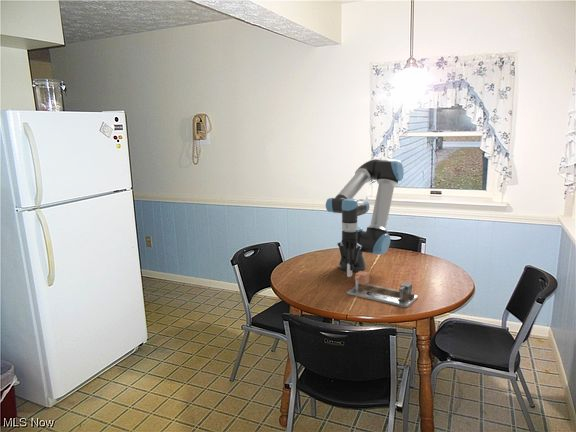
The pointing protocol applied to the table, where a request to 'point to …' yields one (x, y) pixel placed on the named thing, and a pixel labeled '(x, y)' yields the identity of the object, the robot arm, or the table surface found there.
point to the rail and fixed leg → (392, 290)
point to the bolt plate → (381, 296)
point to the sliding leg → (361, 278)
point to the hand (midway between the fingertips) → (349, 275)
